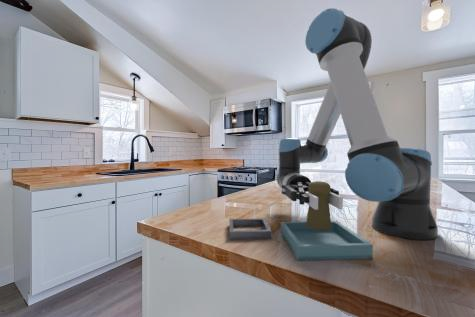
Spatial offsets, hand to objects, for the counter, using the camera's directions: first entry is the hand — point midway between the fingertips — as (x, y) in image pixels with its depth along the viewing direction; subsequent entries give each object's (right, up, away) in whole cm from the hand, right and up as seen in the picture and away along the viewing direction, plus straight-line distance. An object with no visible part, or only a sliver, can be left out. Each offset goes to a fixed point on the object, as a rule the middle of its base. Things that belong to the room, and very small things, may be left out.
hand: (328, 203), depth 50 cm
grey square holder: (-17, -11, +14) cm, 25 cm away
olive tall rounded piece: (0, -7, +6) cm, 9 cm away
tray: (0, -11, +5) cm, 12 cm away
